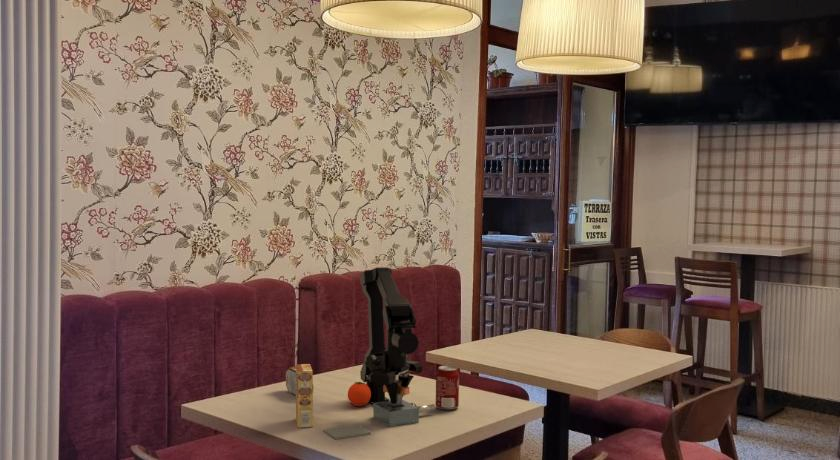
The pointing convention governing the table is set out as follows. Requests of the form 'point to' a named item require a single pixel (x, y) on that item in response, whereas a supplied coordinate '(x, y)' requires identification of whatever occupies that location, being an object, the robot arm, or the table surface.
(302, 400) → the candy box
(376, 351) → the robot arm
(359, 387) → the clementine
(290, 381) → the tin
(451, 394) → the soda can
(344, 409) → the table surface
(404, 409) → the block
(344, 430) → the mat
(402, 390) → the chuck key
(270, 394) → the table surface
